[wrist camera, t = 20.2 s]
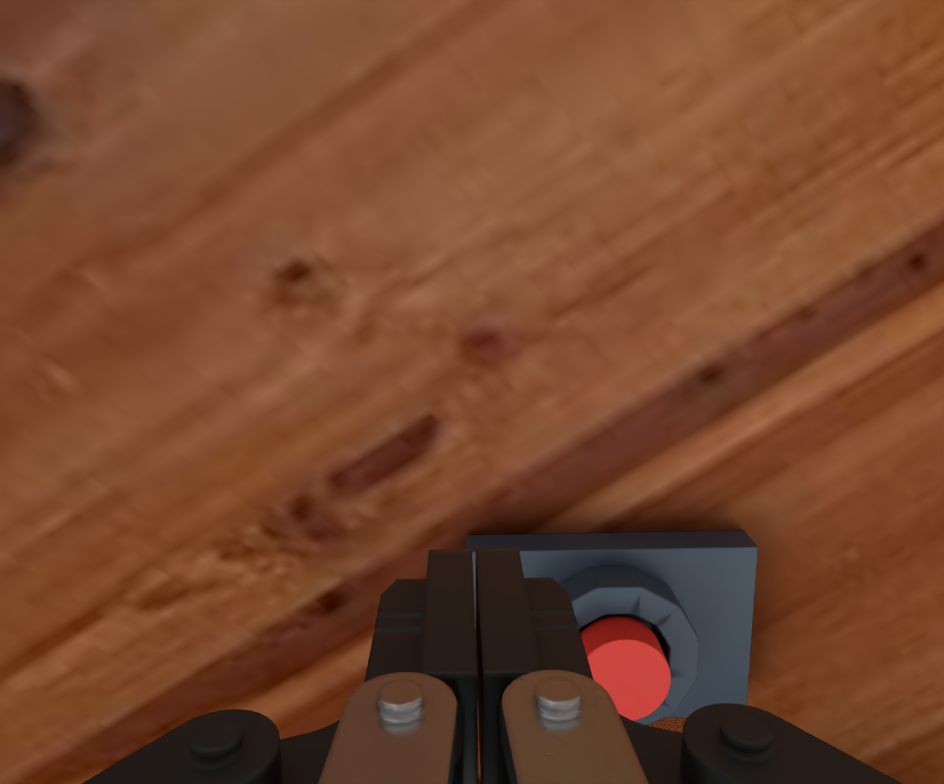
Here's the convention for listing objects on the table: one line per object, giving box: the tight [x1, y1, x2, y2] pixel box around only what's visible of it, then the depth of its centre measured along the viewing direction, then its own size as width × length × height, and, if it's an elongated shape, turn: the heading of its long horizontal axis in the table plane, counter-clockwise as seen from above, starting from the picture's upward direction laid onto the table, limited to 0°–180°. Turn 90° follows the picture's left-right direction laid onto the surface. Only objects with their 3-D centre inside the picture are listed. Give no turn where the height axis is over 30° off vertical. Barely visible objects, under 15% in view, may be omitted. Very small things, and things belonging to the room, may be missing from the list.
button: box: [581, 616, 671, 721], centre depth 30 cm, size 4×4×2 cm
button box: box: [466, 530, 758, 725], centre depth 33 cm, size 12×8×4 cm, turn 91°
